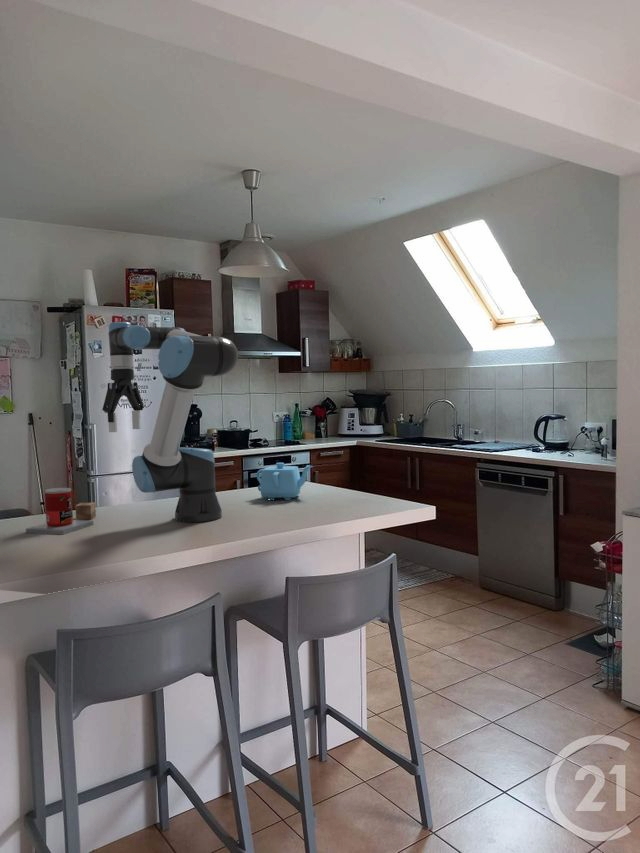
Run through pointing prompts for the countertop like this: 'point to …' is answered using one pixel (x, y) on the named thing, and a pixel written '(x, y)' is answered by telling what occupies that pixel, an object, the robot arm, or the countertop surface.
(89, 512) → the walnut block
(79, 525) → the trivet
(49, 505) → the canned food
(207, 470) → the robot arm
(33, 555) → the countertop surface
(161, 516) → the countertop surface
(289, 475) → the teapot
